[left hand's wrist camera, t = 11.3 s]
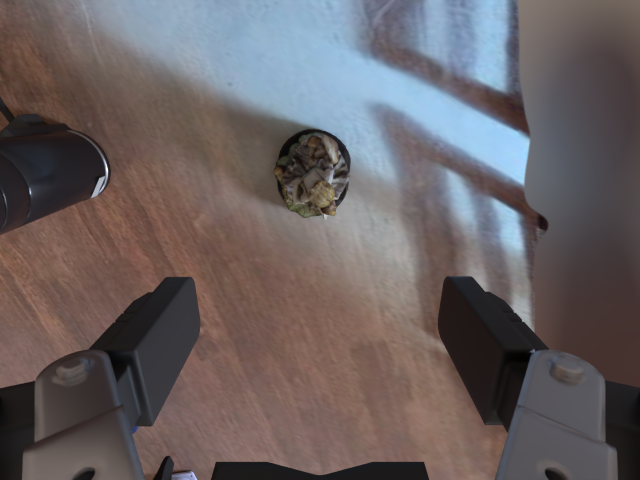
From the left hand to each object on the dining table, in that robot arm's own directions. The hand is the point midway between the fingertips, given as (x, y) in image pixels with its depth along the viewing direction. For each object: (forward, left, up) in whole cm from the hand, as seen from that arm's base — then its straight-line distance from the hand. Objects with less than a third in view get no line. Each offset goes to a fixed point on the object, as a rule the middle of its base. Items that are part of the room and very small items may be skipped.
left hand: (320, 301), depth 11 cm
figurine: (+2, -3, -39) cm, 39 cm away
